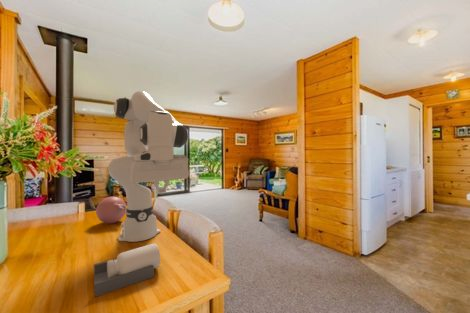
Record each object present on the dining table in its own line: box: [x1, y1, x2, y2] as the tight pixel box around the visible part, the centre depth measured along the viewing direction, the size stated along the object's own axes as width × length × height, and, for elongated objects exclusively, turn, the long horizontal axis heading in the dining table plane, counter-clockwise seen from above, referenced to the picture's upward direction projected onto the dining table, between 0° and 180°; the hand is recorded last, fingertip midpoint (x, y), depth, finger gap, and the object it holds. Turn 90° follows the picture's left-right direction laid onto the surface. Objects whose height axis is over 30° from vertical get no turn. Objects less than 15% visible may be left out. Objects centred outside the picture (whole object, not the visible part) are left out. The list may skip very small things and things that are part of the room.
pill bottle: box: [106, 243, 161, 278], centre depth 69 cm, size 8×8×15 cm
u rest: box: [93, 258, 155, 297], centre depth 68 cm, size 13×16×4 cm
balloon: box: [95, 196, 127, 224], centre depth 121 cm, size 15×20×15 cm
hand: (161, 192), depth 76 cm, fingers closed
